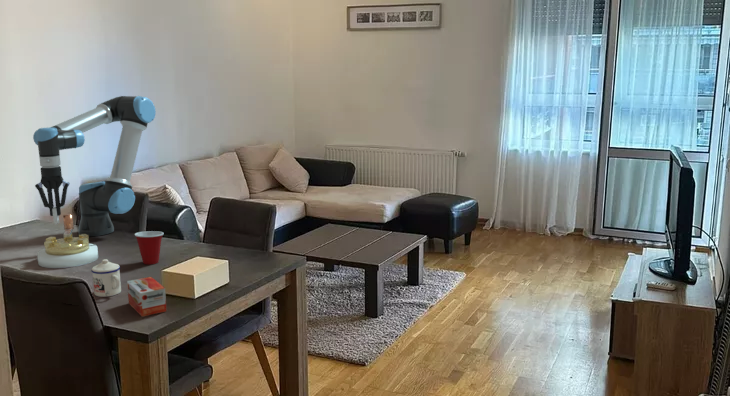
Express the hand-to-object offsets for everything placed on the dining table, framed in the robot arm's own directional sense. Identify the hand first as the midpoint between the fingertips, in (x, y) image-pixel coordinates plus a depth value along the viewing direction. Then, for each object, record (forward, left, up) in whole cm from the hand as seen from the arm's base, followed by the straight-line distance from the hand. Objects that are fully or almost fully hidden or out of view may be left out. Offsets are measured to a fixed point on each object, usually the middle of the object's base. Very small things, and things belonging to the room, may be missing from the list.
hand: (56, 223), depth 286 cm
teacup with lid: (-10, +65, -13) cm, 67 cm away
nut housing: (-2, +14, -12) cm, 19 cm away
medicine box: (-19, +85, -13) cm, 88 cm away
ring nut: (-3, +11, -8) cm, 14 cm away
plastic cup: (-30, +34, -13) cm, 47 cm away
